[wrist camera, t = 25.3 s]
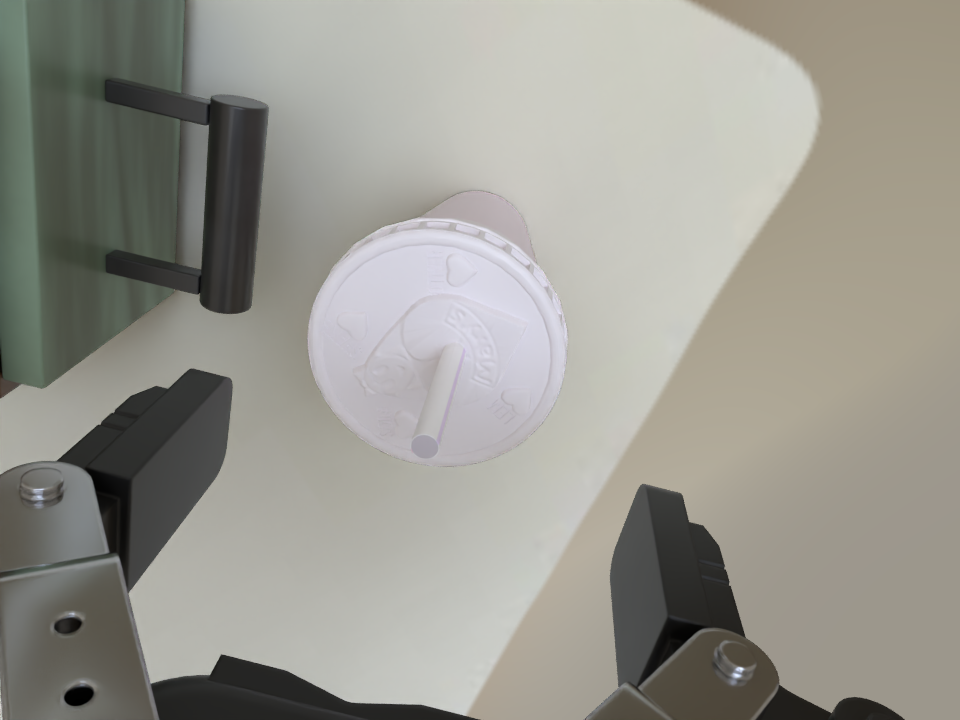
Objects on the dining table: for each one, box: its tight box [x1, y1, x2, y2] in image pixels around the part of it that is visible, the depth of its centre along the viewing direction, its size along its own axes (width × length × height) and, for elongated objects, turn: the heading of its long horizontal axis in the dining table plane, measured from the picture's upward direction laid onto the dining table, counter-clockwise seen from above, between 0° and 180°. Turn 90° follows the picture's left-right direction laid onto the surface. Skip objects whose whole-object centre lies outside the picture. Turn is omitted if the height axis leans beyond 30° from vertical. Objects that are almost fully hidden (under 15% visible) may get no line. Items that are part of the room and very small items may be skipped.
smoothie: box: [307, 191, 568, 467], centre depth 21 cm, size 6×6×14 cm
